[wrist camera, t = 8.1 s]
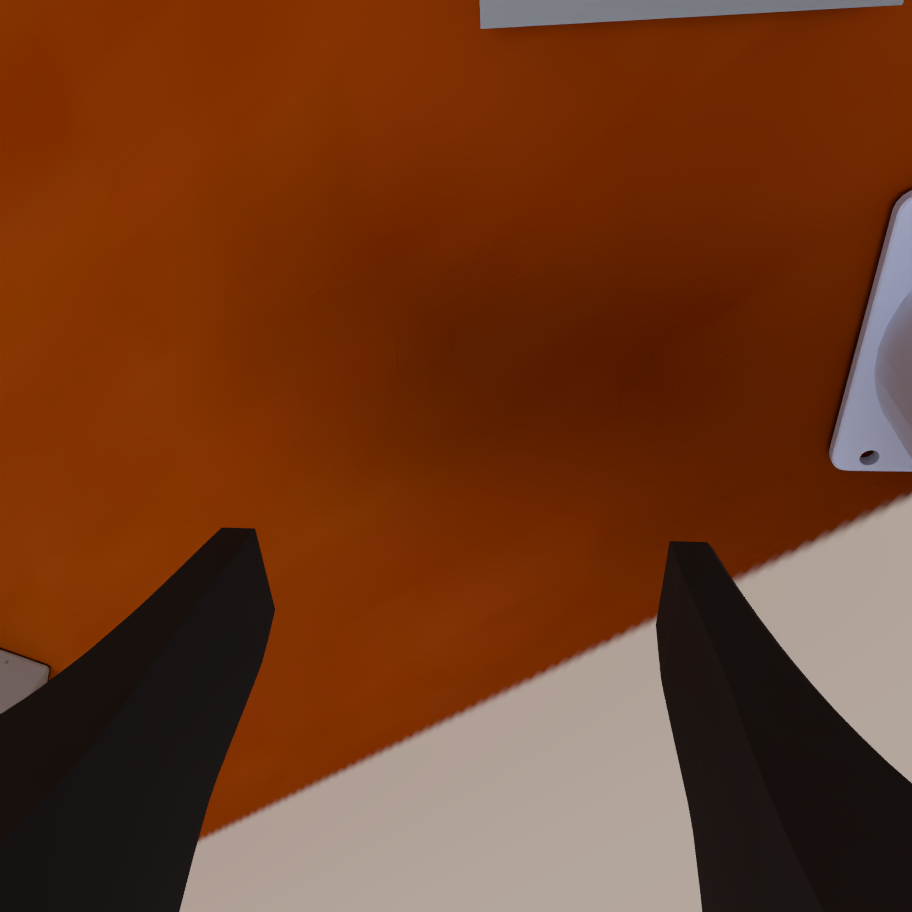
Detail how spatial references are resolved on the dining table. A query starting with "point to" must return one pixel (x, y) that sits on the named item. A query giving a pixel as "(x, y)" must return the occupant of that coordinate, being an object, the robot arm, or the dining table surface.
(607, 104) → the dining table surface
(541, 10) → the gray base
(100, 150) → the dining table surface
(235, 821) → the dining table surface
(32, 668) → the coffee box
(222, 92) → the dining table surface
